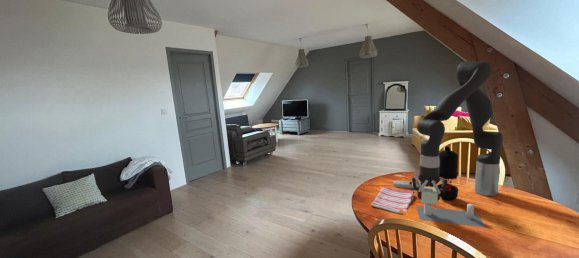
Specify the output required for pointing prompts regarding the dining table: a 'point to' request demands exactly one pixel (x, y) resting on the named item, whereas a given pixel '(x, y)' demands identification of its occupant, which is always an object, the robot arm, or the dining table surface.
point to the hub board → (450, 215)
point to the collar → (429, 195)
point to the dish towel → (393, 200)
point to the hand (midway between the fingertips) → (428, 199)
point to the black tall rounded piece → (448, 172)
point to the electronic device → (406, 183)
